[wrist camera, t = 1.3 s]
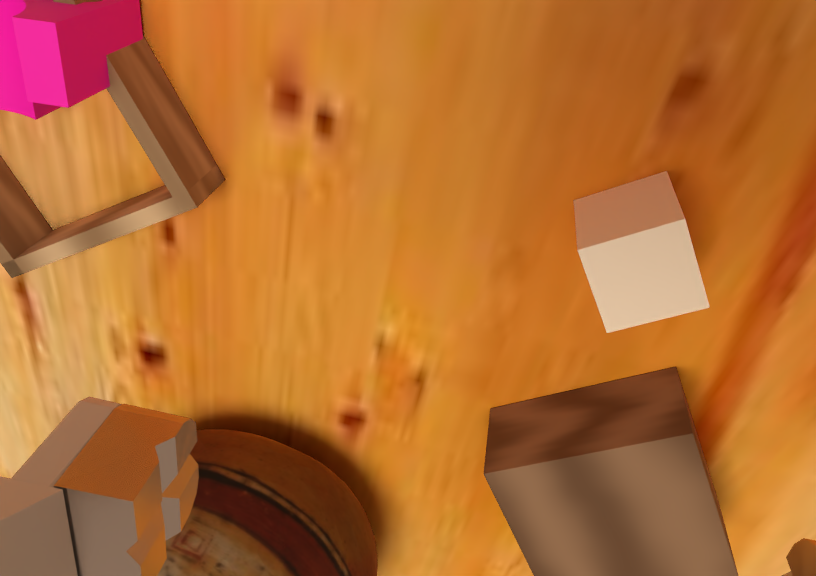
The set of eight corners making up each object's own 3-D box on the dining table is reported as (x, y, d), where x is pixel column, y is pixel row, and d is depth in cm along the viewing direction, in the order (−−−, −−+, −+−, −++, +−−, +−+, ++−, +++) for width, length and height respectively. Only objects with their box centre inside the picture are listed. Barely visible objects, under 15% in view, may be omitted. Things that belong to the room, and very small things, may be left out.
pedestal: (676, 366, 44) (692, 433, 39) (719, 504, 49) (739, 579, 44) (490, 408, 48) (483, 474, 43) (547, 531, 53) (547, 603, 48)
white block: (666, 170, 38) (685, 218, 33) (689, 250, 40) (709, 307, 35) (573, 200, 40) (577, 250, 34) (599, 275, 42) (607, 333, 37)
